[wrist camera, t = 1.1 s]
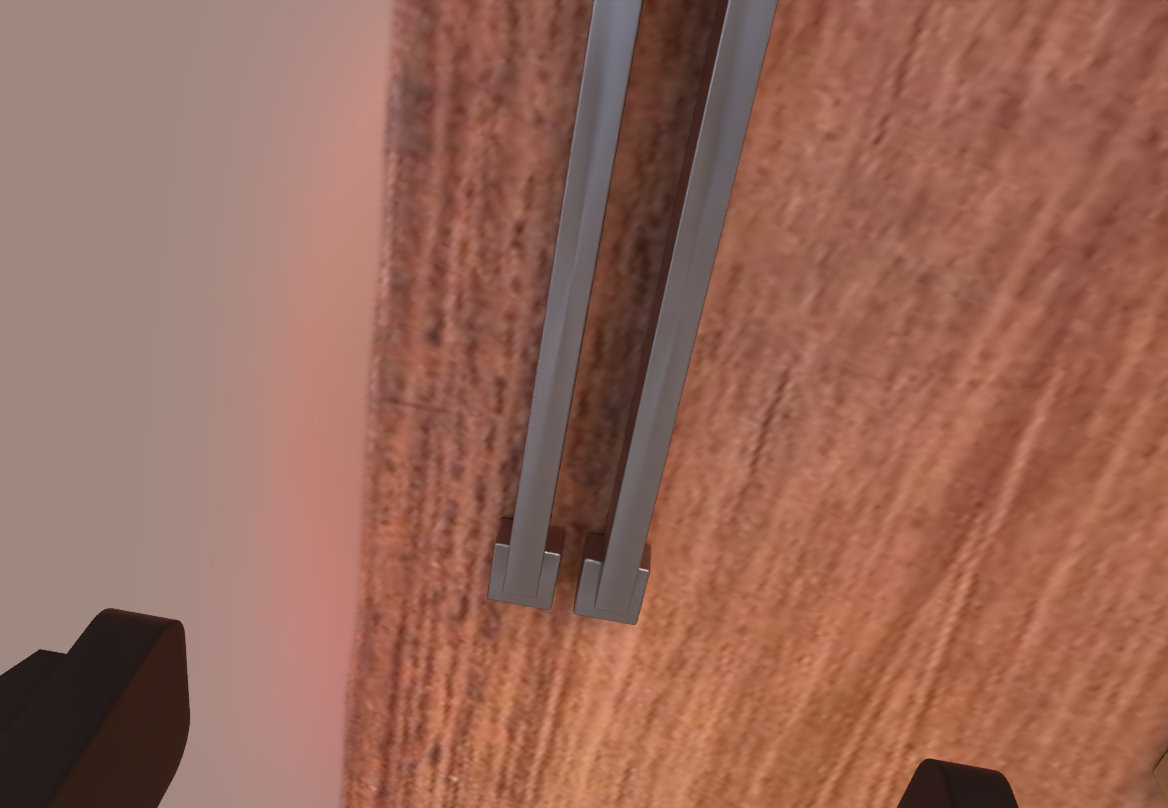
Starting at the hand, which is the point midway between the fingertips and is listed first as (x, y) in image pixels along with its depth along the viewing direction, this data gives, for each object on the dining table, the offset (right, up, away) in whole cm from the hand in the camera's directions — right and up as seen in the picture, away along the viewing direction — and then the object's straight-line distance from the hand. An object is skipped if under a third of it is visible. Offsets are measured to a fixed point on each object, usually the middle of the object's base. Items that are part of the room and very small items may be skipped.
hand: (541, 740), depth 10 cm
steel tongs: (+2, +7, +12) cm, 14 cm away
